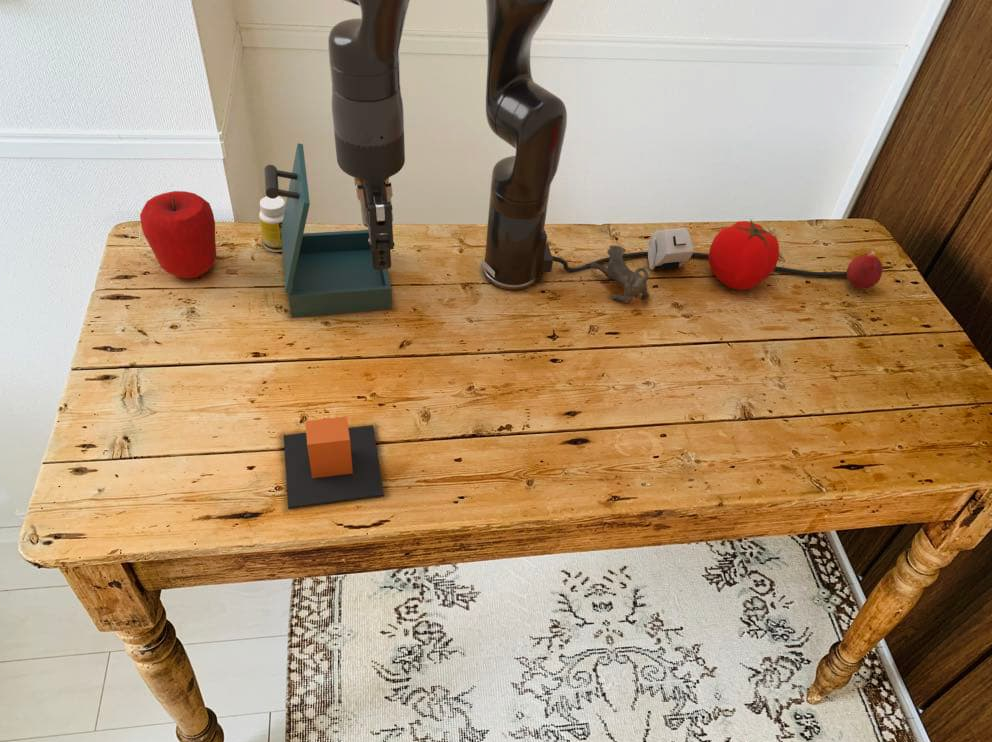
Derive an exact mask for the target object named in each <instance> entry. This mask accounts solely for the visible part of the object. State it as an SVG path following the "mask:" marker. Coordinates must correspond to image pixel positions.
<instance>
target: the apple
mask: <svg viewBox="0 0 992 742" xmlns="http://www.w3.org/2000/svg"><path fill="white" fill-rule="evenodd" d="M213 212H214V211H213V209H212V206H211V204H210V203H209V202H208V201H207V200H206V199H204V197H202V196H200V195H199V194H196V193H194V192H190V191H183V190H173V191H167V192H164V193H161V194H157V195H155V196H153V197H151V198H150V199H148V200H146V202H145V204H144V206H143V208H142V210H141V212H140V213H139V219H140V225H141V230H142V233H143V236H144V238H145V240H146V242H147V243H148V245H149V247H150V248H151V250H152V253H153V255H154V256H155V258H156V260H157V262H158V264H159V266H160V267H161V268H162V269H163V271H165V273H168V274H170V275H172V276H174V277H177V278H180V279H187V280H188V279H189V280H190V279H195V278H199V277H202V276H204V274H205V273H207V272H208V271H209V270H210V268H212V267H213V265H214V264H215V262H216V259H217V245H216V221H215V216H214V213H213Z"/></svg>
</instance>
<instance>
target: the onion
mask: <svg viewBox="0 0 992 742" xmlns="http://www.w3.org/2000/svg"><path fill="white" fill-rule="evenodd" d="M883 269H884V268H883V264H882V261H881V260H880V259H879V258H878V256H877V254H876V252H875V251H873V250H870V251H869V253H863V254H859V255H857V256H856V257H854V258H853V259H852V260H851V261H850V262H849V263H848V265H847V268H846V273H847V277H846V278H847V280H848V281H849V283H850V285H851V287H852V288H853V289H856V290H866V289H870V288H872V287H874V286H876V285H877V284H878V283H879V281H880V280H881V278H882V276H883V275H882V274H883Z"/></svg>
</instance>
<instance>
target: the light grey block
mask: <svg viewBox="0 0 992 742" xmlns="http://www.w3.org/2000/svg"><path fill="white" fill-rule="evenodd" d="M651 235H652V236H651V238H649V239H648V241H647V252H648V256H647V261H648V268H649V270H653V271H658V270H667V269H678V268H680V267H682V266H683V264H686V263H688V262H689V260H690V259H691V258H692V257H691V256H692V254H693V252H694V253H695V250H694V247H693V243H692V238H691V236H690V232H689V229H688V228H687V227H678V228H670V229H668V228H667V229H658V230H654V232H653V233H652V234H651Z"/></svg>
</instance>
